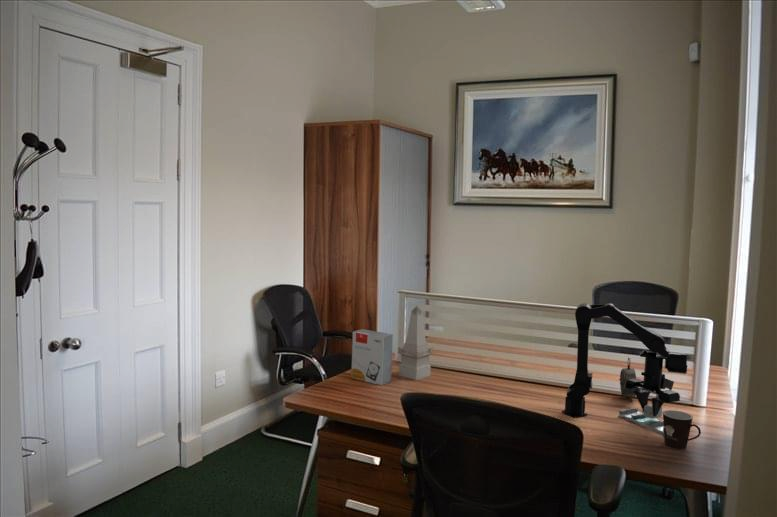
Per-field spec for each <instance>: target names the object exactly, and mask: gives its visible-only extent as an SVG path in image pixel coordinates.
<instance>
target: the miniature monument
mask: <svg viewBox="0 0 777 517" xmlns="http://www.w3.org/2000/svg"><path fill="white" fill-rule="evenodd" d="M407 327H408V328H407V333H406V338H405V342H404V343H403V345H402V347H399V346H398V347H397V353H398V354H399V355H401V360H400V364H399V365H398V376H400V377H405V378H407V379H411V380H415V381H418V380H421V379H424V378H427V377H429V376H431V372H432V371H431V369H432V367H431V366H432V365H431V364H430V355H432V354H434V347H429V346H428V343H427V341H426V340H427V339H426V332H425V325H424V316H423V310H422V309H420V307H419V306H415V307H414V308H413V309H412V310H411V311H410V317H409V323H408V326H407Z"/></svg>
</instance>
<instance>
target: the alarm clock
mask: <svg viewBox="0 0 777 517" xmlns="http://www.w3.org/2000/svg"><path fill="white" fill-rule="evenodd" d="M630 361H631V358H630V357H628V359H627V367H623V368H621V371H620V374H619V386H620V387H619V388H620V394H621V396H619V398H622V397H625V398H629V400H630V401H629V402H630V403H632V402H633V401H632V400H633V398H635V397H636V395H635V393H633V391H635V387H634V388H633V389H628V388H626V387H625V383H626V381H627V380H628V379H635V378H637V374H636V371H635V368H633V367H631V362H630Z"/></svg>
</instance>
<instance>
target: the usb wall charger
mask: <svg viewBox="0 0 777 517" xmlns="http://www.w3.org/2000/svg"><path fill="white" fill-rule="evenodd" d="M641 413H644V416H645V417H648V418H651V419H654V418H655V419H658V418H662V417H663V405H662V406H661V408H660V410H659V412H658V414H657V416H656V417H654V416H653V409H652V403H649V404H648V405H645V406H644V411H643V410H642V411H641Z"/></svg>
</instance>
